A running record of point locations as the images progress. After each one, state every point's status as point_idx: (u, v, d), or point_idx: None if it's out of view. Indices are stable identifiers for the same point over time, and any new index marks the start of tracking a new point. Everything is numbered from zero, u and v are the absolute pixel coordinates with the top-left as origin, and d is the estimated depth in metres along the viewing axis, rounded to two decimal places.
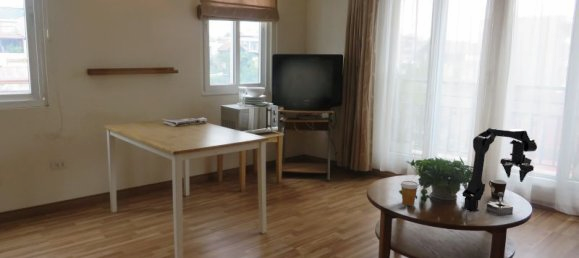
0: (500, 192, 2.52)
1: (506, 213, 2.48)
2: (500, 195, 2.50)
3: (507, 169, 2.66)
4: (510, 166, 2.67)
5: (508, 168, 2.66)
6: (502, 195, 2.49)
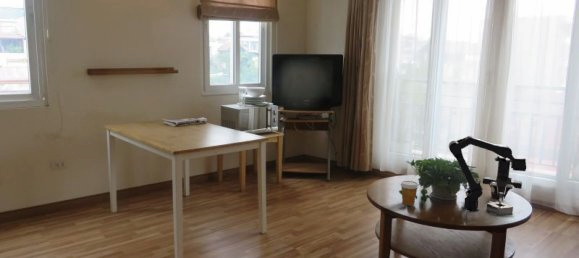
0: (500, 192, 2.52)
1: (506, 213, 2.48)
2: (500, 195, 2.50)
3: None
4: (506, 187, 2.48)
5: None
6: (502, 195, 2.49)
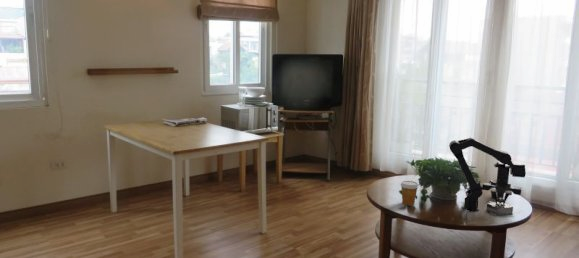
0: None
1: (506, 213, 2.48)
2: (499, 200, 2.50)
3: None
4: (505, 193, 2.49)
5: None
6: (501, 200, 2.50)
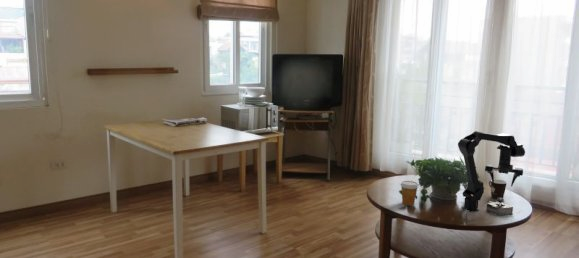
0: None
1: (506, 213, 2.48)
2: (499, 200, 2.50)
3: None
4: (513, 175, 2.55)
5: (513, 176, 2.57)
6: (501, 200, 2.50)
